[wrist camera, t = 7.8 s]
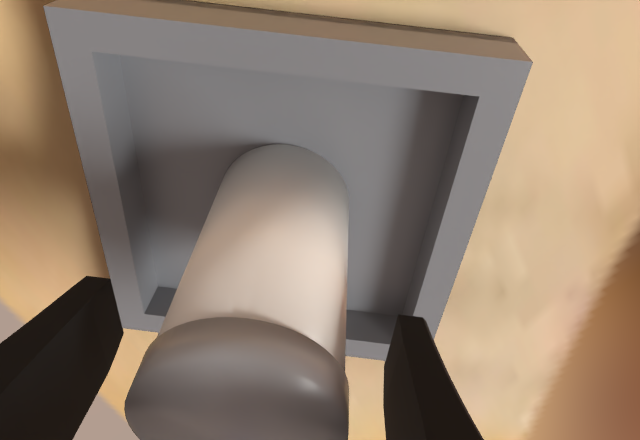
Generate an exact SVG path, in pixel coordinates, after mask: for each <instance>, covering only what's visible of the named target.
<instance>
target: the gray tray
mask: <svg viewBox="0 0 640 440" xmlns="http://www.w3.org/2000/svg"><path fill="white" fill-rule="evenodd" d="M43 7H44V11H45V15H46V19H47V23H48V28H49V32H50V36H51V40H52V44H53V48H54V52H55V56H56V60H57V64H58V68H59V72H60V76H61V80H62V84H63V88H64V92H65V97H66V101H67V105H68V109H69V113H70V117H71V121H72V125H73V129H74V133H75V137H76V141H77V145H78V149H79V153H80V157H81V161H82V166H83V170H84V174H85V178H86V182H87V186H88V190H89V194H90V198H91V202H92V206H93V210H94V214H95V218H96V222H97V226H98V230H99V235H100V239H101V243H102V247H103V251H104V255H105V259H106V263H107V267H108V271H109V275H110V279H111V283H112V287H113V291H114V295H115V299H116V303H117V308H118V312H119V316H120V320H121V324H122V328H126V329H134V330H142V331H150V332H158V333H159V331H160V329H161V327H162V324H163V322H164V319H165V317H166V315H167V312H168V310H169V307H170V305H171V303H172V300H173V298H174V295H175V293H176V291H177V288H178V286H179V283H180V281H181V279H182V276H183V274H184V271H185V269H186V267H187V264H188V262H189V259H190V257H191V255H192V252H193V250H194V247H195V245H196V243H197V240H198V238H199V235H200V233H201V231H202V228H203V226H204V223H205V221H206V219H207V216H208V214H209V211H210V209H211V207H212V204H213V202H214V199H215V197H216V195H217V192H218V190H219V187H220V185H221V183H222V180H223V178H224V175H225V173H226V172H227V170H228V168H229V167H230V166H231V164H232V163H233V162H234V161H235V160H236V159H237V158H239V157H240V156H241V155H243V154H244V153H246V152H248V151H250V150H252V149H255V148H258V147H261V146H266V145H275V144H284V145H293V146H298V147H301V148H305V149H307V150H310V151H312V152H314V153H316V154H318V155H320V156H322V157H323V158H324V159H326V160H327V161H328V162H329V163H330V164H332V165H333V166H334V167H335V168H336V170H337V171H338V172H339V173H340V175H341V177H342V178H343V180H344V182H345V185H346V187H347V191H348V195H349V225H348V266H347V307H346V348H345V356H351V357H359V358H367V359H375V360H383V361H386V358H387V354H388V350H389V347H390V343H391V339H392V336H393V332H394V328H395V325H396V321H397V317H398V314H399V315H408V316H416V317H423V318H424V319H425V320H426V322H427V325H428V327H429V330H430V333H431V335H432V338H433V340H434V337H435V334H436V331H437V329H438V326H439V323H440V320H441V317H442V315H443V312H444V309H445V306H446V303H447V301H448V298H449V295H450V292H451V289H452V287H453V284H454V281H455V278H456V275H457V273H458V270H459V267H460V264H461V261H462V259H463V256H464V253H465V250H466V248H467V245H468V242H469V239H470V236H471V234H472V231H473V228H474V225H475V222H476V220H477V217H478V214H479V211H480V208H481V206H482V203H483V200H484V197H485V194H486V192H487V189H488V186H489V183H490V180H491V178H492V175H493V172H494V169H495V166H496V164H497V161H498V158H499V155H500V152H501V150H502V147H503V144H504V141H505V138H506V136H507V133H508V130H509V127H510V124H511V122H512V119H513V116H514V113H515V110H516V108H517V105H518V102H519V99H520V97H521V94H522V91H523V88H524V85H525V83H526V80H527V77H528V74H529V71H530V69H531V66H532V63H533V62H532V60H531V59H530V58H529V57H528V56H527V54H526V53H525V52H524V51H523V49H522V48H521V47H520V46H519V45H518V43H517V42H516V41H515V40H514V38H510V37H501V36H492V35H484V34H475V33H466V32H457V31H449V30H440V29H431V28H422V27H414V26H405V25H396V24H387V23H379V22H370V21H361V20H352V19H344V18H335V17H326V16H317V15H309V14H300V13H291V12H282V11H274V10H265V9H256V8H247V7H239V6H230V5H221V4H212V3H204V2H195V1H186V0H55V1H53V2H51V3H48V4H46V5H44V6H43Z"/></svg>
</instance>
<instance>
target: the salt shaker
mask: <svg viewBox="0 0 640 440" xmlns="http://www.w3.org/2000/svg"><path fill="white" fill-rule="evenodd" d="M348 225H349V195H348V191H347V187H346V185H345V182H344V180H343V178H342V177H341V175H340V173H339V172H338V171H337V170H336V168H335V167H334V166H333V165H332V164H330V163H329V162H328V161H327V160H326V159H324V158H323V157H322V156H320V155H318V154H316V153H314V152H312V151H310V150H307V149H305V148H301V147H298V146H293V145H284V144H275V145H266V146H261V147H258V148H255V149H252V150H250V151H248V152H246V153H244V154H243V155H241V156H240V157H239V158H237V159H236V160H235V161H234V162H233V163H232V164H231V166H230V167H229V168H228V170H227V172H226V173H225V175H224V178H223V180H222V183H221V185H220V187H219V190H218V192H217V195H216V197H215V199H214V202H213V204H212V207H211V209H210V211H209V214H208V216H207V219H206V221H205V223H204V226H203V228H202V231H201V233H200V235H199V238H198V240H197V243H196V245H195V247H194V250H193V252H192V255H191V257H190V259H189V262H188V264H187V267H186V269H185V271H184V274H183V276H182V279H181V281H180V283H179V286H178V288H177V291H176V293H175V295H174V298H173V300H172V303H171V305H170V307H169V310H168V312H167V315H166V317H165V319H164V322H163V324H162V327H161V329H160V331H159V334H158V336H157V338H156V339H155V340H154V341H153V342H152V343H151V344H150V346H149V347H148V349H147V351H146V352H145V355H144V357H143V359H142V362H141V364H140V366H139V369H138V371H137V373H136V376H135V378H134V380H133V383H132V385H131V387H130V390H129V392H128V394H127V397H126V400H125V409H124V410H125V415H126V419H127V421H128V424H129V426H130V428H131V429H132V431H133V432H134V433H135V435H136V436H137V437H138V438H139V439H140V440H348V425H349V385H348V380H347V377H346V374H345V348H346V307H347V266H348Z"/></svg>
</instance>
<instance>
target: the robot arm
mask: <svg viewBox="0 0 640 440" xmlns="http://www.w3.org/2000/svg"><path fill="white" fill-rule="evenodd" d="M123 334H124V332H123V328H122V324H121V320H120V316H119V312H118V308H117V303H116V299H115V295H114V291H113V287H112V283H111V279H107V278H99V277H91V276H86V277H85V278H83V279H82V280H81V281H80V282H78V283H77V284H76V285H74V286H73V287H72V288H71V289H69V290H68V291H67V292H65V293H64V294H63V295H62V296H60V297H59V298H58V299H57V300H55V301H54V302H53V303H52V304H50V305H49V306H48V307H47V308H45V309H44V310H43V311H42V312H40V313H39V314H38V315H37V316H35V317H34V318H33V319H32V320H30V321H29V322H28V323H26V324H25V325H24V326H22V327H21V328H20V329H19V330H17V331H16V332H15V333H13V334H12V335H11V336H10V337H8V338H7V339H6V340H4V341H3V342H2V343H1V344H0V440H72V439H73V438H74V436H75V434H76V432H77V430H78V428H79V426H80V425H81V423H82V421H83V419H84V417H85V415H86V413H87V412H88V410H89V408H90V406H91V404H92V402H93V401H94V399H95V397H96V395H97V393H98V391H99V389H100V387H101V385H102V384H103V382H104V380H105V378H106V376H107V374H108V372H109V370H110V367H111V365H112V362H113V360H114V358H115V355H116V352H117V350H118V347H119V344H120V342H121V339H122V336H123ZM383 406H384V418H385V430H386V440H484V439H483V438H482V436H481V434H480V432H479V431H478V429H477V427H476V425H475V424H474V422H473V420H472V418H471V417H470V415H469V413H468V411H467V409H466V407H465V406H464V404H463V402H462V400H461V398H460V396H459V394H458V392H457V390H456V388H455V386H454V384H453V382H452V380H451V378H450V376H449V374H448V372H447V370H446V368H445V365H444V363H443V361H442V359H441V356H440V354H439V352H438V350H437V347H436V345H435V343H434V340H433V338H432V335H431V333H430V330H429V327H428V325H427V322H426V320H425V319H424V318H423V317H416V316H408V315H399V314H398V317H397V321H396V325H395V328H394V332H393V336H392V339H391V343H390V347H389V350H388V354H387V358H386V361H385V365H384V405H383Z"/></svg>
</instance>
